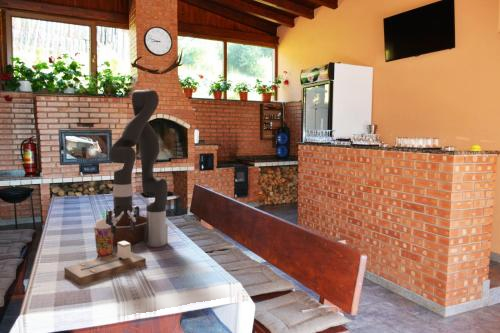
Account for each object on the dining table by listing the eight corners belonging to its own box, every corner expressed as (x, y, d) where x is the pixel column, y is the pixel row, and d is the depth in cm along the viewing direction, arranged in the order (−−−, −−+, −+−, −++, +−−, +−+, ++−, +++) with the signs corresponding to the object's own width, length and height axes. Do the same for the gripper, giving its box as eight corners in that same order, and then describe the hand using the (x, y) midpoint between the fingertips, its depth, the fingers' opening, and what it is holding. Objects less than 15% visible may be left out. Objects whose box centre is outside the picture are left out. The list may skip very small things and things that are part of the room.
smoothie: (93, 258, 172) (92, 214, 169) (95, 252, 180) (94, 209, 177) (113, 257, 174) (112, 213, 171) (115, 250, 182) (114, 209, 179)
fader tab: (124, 254, 168) (124, 240, 167) (131, 257, 165) (130, 243, 164) (117, 255, 166) (117, 242, 165) (123, 259, 162) (123, 245, 161)
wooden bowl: (136, 250, 184) (135, 229, 183) (88, 245, 189) (88, 225, 188) (158, 234, 208) (158, 216, 207) (116, 231, 213) (115, 212, 212)
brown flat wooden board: (128, 256, 175) (128, 249, 174) (145, 265, 165) (145, 257, 165) (64, 274, 154) (64, 266, 154) (80, 285, 145) (80, 276, 144)
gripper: (133, 191, 170) (133, 227, 171) (102, 195, 159) (102, 233, 161) (142, 193, 165) (143, 230, 166) (111, 197, 154) (112, 237, 156)
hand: (123, 232), depth 164 cm, fingers open, 8 cm apart
